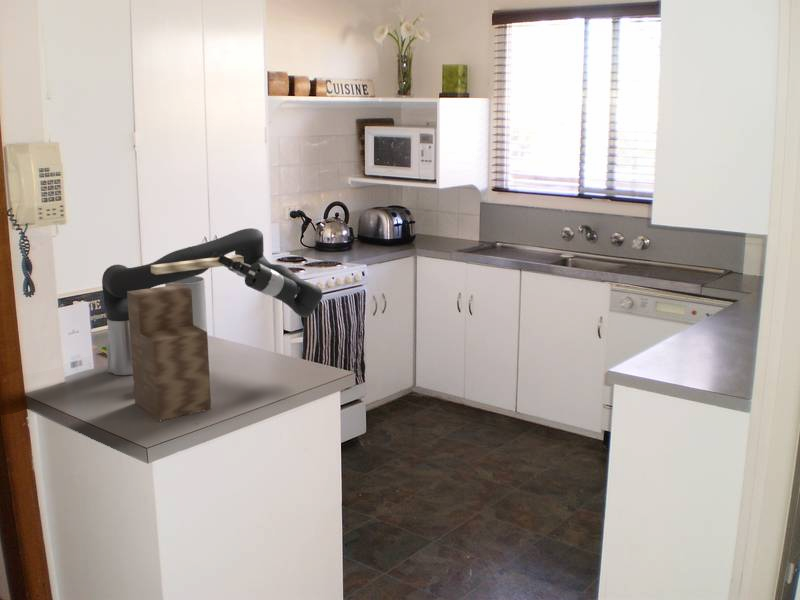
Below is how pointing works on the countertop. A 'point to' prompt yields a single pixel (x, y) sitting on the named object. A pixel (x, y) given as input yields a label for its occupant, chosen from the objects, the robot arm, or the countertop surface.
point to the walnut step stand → (168, 353)
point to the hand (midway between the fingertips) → (216, 257)
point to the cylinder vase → (196, 299)
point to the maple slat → (191, 265)
